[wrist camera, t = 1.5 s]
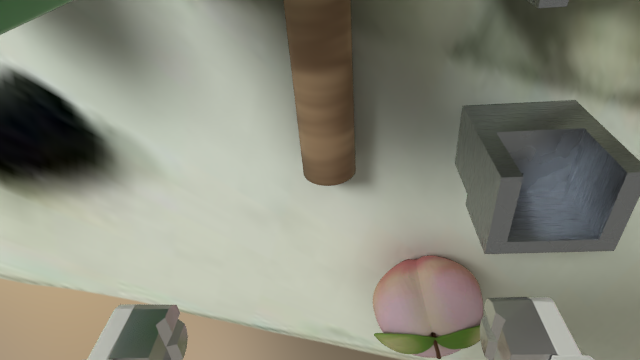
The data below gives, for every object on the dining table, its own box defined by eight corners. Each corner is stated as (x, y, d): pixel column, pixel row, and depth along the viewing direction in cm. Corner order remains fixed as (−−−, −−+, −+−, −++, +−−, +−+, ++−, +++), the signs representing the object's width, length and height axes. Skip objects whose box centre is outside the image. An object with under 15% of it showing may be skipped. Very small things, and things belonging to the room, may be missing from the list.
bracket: (462, 105, 31) (501, 177, 23) (575, 100, 30) (651, 171, 23) (453, 173, 34) (484, 254, 27) (554, 169, 34) (614, 250, 26)
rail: (298, -94, 25) (257, -87, 22) (360, -98, 23) (324, -91, 20) (319, 151, 35) (293, 177, 32) (364, 162, 33) (340, 190, 30)
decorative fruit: (383, 299, 44) (393, 395, 36) (360, 245, 39) (366, 341, 31) (475, 281, 42) (508, 378, 34) (462, 221, 37) (497, 318, 29)
